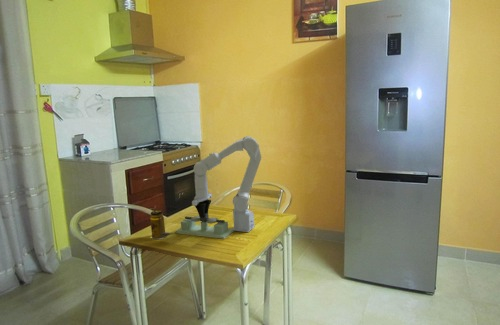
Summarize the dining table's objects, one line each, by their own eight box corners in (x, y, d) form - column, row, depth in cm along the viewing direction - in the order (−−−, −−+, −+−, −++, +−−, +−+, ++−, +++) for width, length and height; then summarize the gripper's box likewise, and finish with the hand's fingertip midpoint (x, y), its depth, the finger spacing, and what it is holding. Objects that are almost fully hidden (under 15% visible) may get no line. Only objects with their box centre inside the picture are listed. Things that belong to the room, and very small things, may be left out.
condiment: (148, 238, 152) (145, 213, 150) (159, 231, 160) (157, 207, 158) (161, 240, 149) (158, 214, 147) (172, 233, 157) (170, 208, 155)
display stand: (234, 231, 156) (233, 220, 155) (224, 238, 147) (223, 228, 146) (187, 225, 166) (186, 216, 165) (175, 232, 157) (174, 222, 156)
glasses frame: (226, 220, 154) (226, 213, 153) (221, 224, 149) (221, 217, 148) (188, 217, 162) (188, 210, 161) (182, 220, 157) (182, 213, 157)
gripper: (202, 184, 161) (204, 211, 163) (185, 191, 148) (187, 220, 150) (215, 184, 158) (216, 212, 161) (198, 192, 145) (201, 221, 147)
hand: (203, 216), depth 155 cm, fingers closed on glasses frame, 2 cm apart
